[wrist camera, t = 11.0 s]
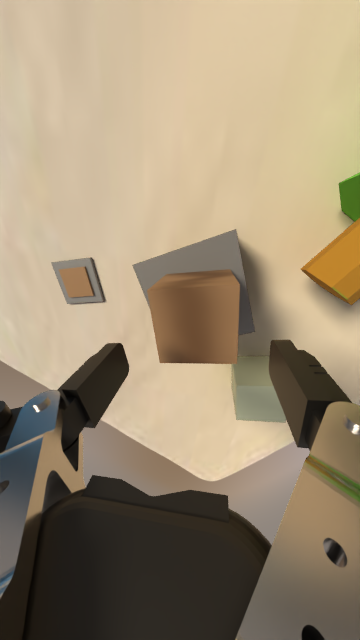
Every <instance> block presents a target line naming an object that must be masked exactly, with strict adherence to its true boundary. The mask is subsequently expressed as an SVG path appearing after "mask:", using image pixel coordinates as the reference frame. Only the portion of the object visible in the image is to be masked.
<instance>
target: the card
mask: <svg viewBox="0 0 360 640" xmlns="http://www.w3.org/2000/svg"><path fill="white" fill-rule="evenodd" d="M52 266H53V269H54V271H55V274H56V276H57V279H58V281H59V284H60V287H61V289H62V292H63V294H64V297H65V299H66V302H67V304H72V303H86V302H100V301H104V298H103V294H102V291H101V288H100V284H99V281H98V277H97V274H96V271H95V267H94V264H93V261H92V258H84V259H76V260H68V261H60V262H52Z"/></svg>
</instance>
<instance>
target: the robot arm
mask: <svg viewBox="0 0 360 640" xmlns="http://www.w3.org/2000/svg"><path fill="white" fill-rule="evenodd" d="M128 372H129V364H128V361H127V358H126V354H125V351H124V348H123V345H122V344H121V343H108V344H106V345H105V346H104V347H103V348H102V349H101V350H100V351H99V352H98V353H96V354H95V355H93V356H92V357H90V358H89V359H88V360H87V361H86V362H85V363H84V365H82V366H81V367H80V368H79V370H77V371H76V372H75V373H74V374H73V375H72V376H71V377H70V378H69V379H68V380H67V381H66V382H65V383H64V384H63V385H62V386H61V387H60V388H59V389H58V390H49V391H46V392H43V393H40V394H39V395H37V396H35V397H33V398H32V399H31V400H29V401H28V402H27V403H26V404H25V405H24V406H23V407H19V408H15V409H9V407H8V406H7V405H6V403H5V402H4V401H0V640H360V406H359V405H357V404H353V403H352V402H351V401H350V399H349V398H348V397H347V396H346V394H345V393H344V392H343V391H342V390H341V388H340V387H339V386H338V385H337V384H336V382H335V381H334V380H333V379H332V378H331V376H330V375H329V374H327V372H326V370H325V369H324V368H323V367H321V364H320V363H319V362H318V361H317V359H316V358H315V357H314V356H312V355H311V354H309V353H307V352H306V351H304V350H297V349H296V347H295V346H294V344H293V343H292V342H291V341H290V340H272V341H271V345H270V357H269V375H270V379H271V381H272V384H273V386H274V389H275V391H276V394H277V397H278V399H279V402H280V404H281V407H282V409H283V412H284V414H285V417H286V419H287V422H288V424H289V427H290V430H291V432H292V435H293V437H294V440H295V442H296V445H297V447H301V448H309V450H310V454H309V456H308V457H307V458H306V460H305V462H304V464H303V467H302V469H301V472H300V475H299V477H298V480H297V482H296V485H295V487H294V490H293V493H292V495H291V498H290V500H289V503H288V505H287V508H286V511H285V513H284V516H283V518H282V521H281V524H280V526H279V529H278V531H277V534H276V536H275V539H274V541H273V544H272V545H271V544H270V543H269V541H268V540H267V539H266V538H265V537H264V536H263V535H262V534H261V532H260V531H259V530H258V529H256V528H255V526H253V525H252V524H251V523H250V522H249V521H248V520H246V519H245V518H244V517H242V516H241V515H239V514H238V513H236V512H234V511H232V510H230V509H229V508H228V496H226V495H220V494H213V493H207V492H200V491H194V490H187V491H182V492H176V493H171V494H166V495H160V496H154V497H153V496H149V495H147V494H145V493H144V492H142V491H140V490H139V489H137V488H135V487H133V486H132V485H130V484H128V483H127V482H125V481H123V480H122V479H115V478H108V477H101V476H95V475H92V477H91V479H90V481H89V483H88V485H87V487H85V484H84V479H83V435H82V433H81V431H82V430H83V428H84V427H89V428H95V427H96V425H97V424H98V422H99V420H100V419H101V417H102V416H103V414H104V412H105V411H106V409H107V408H108V406H109V404H110V403H111V401H112V399H113V398H114V396H115V395H116V393H117V391H118V390H119V388H120V387H121V385H122V383H123V382H124V380H125V379H126V377H127V375H128Z"/></svg>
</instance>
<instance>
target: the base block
mask: <svg viewBox="0 0 360 640" xmlns="http://www.w3.org/2000/svg"><path fill="white" fill-rule="evenodd" d="M133 268H134V270H135V273H136V275H137V278H138V280H139V283H140V285H141V288H142V290H143V293H144V295H145V298H146V300H147V302H148V305H149V307H150V304H149V299H148V293H147V290H148V289H149V288H150V287H152V286H153V285H154V284H155V283H156V282H158V281H159V280H160V279H161V278H162V277H164V276H165V275H166V274H174V273H187V272H200V271H213V270H226V269H230V270H231V272H232V273H233V275H234V276H235V278H236V279H237V281H238V282H239V284H240V296H239V324H238V335H241V334H246V333H252V332H255V329H254V324H253V319H252V313H251V308H250V302H249V297H248V292H247V286H246V281H245V275H244V270H243V265H242V259H241V254H240V248H239V243H238V238H237V232H236V229H235V230H232V231H229V232H226V233H224V234H221V235H218V236H215V237H212V238H209V239H206V240H203V241H200V242H198V243H195V244H192V245H189V246H186V247H183V248H180V249H177V250H175V251H172V252H169V253H166V254H163V255H160V256H157V257H154V258H151V259H149V260H146V261H143V262H140V263H137V264H134V265H133Z"/></svg>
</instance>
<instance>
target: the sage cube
mask: <svg viewBox="0 0 360 640" xmlns="http://www.w3.org/2000/svg"><path fill="white" fill-rule="evenodd" d="M269 357H270V356H237V364H232V392H233V400H234V407H235V414H236V420H248V421H265V422H282V423H285V422H286V417H285V414H284V412H283V409H282V407H281V404H280V402H279V399H278V397H277V394H276V391H275V389H274V386H273V384H272V381H271V379H270V375H269Z"/></svg>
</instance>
